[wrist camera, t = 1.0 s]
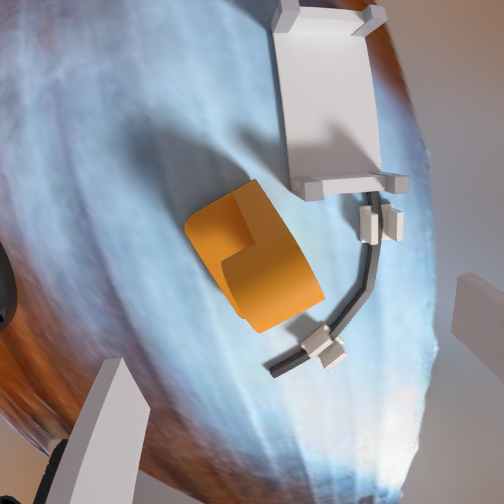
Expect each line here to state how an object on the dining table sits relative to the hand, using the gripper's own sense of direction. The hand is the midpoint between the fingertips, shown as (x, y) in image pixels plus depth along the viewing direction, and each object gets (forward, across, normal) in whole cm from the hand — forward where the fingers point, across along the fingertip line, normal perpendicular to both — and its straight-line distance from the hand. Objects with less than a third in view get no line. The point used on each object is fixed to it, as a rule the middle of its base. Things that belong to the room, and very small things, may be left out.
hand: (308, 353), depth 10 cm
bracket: (+19, -1, -2) cm, 19 cm away
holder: (+19, +9, +10) cm, 23 cm away
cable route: (+19, +6, -8) cm, 21 cm away
